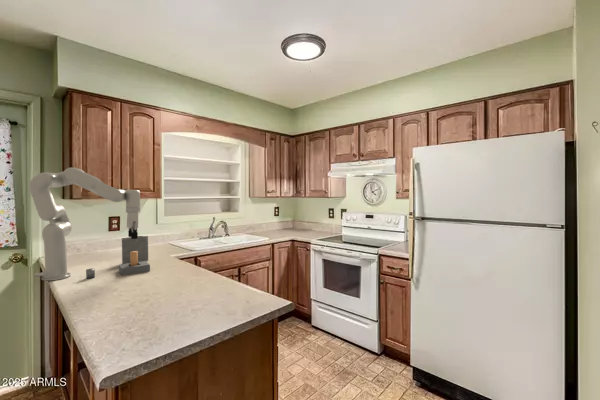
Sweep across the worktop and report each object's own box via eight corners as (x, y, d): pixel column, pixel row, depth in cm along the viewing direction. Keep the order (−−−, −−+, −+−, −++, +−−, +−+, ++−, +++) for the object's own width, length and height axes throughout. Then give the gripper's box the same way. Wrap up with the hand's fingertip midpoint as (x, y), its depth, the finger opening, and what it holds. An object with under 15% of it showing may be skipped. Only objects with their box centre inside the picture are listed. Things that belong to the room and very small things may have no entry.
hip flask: (122, 264, 195) (121, 234, 194) (121, 263, 198) (121, 234, 197) (148, 260, 204) (148, 232, 204) (147, 259, 208) (147, 232, 207)
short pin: (86, 279, 162) (86, 270, 162) (86, 277, 165) (85, 269, 165) (95, 278, 164) (94, 269, 164) (94, 276, 168) (94, 268, 167)
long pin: (131, 272, 176) (130, 252, 176) (130, 270, 179) (129, 251, 179) (138, 271, 179) (138, 251, 178) (137, 269, 182) (137, 250, 181)
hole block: (121, 275, 169) (121, 268, 169) (118, 271, 179) (118, 264, 178) (150, 270, 179) (149, 264, 179) (145, 267, 188) (145, 260, 188)
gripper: (123, 209, 182) (123, 236, 182) (128, 211, 168) (128, 240, 169) (137, 209, 186) (136, 235, 187) (142, 210, 173) (142, 239, 174)
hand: (132, 237), depth 178 cm, fingers open, 9 cm apart
